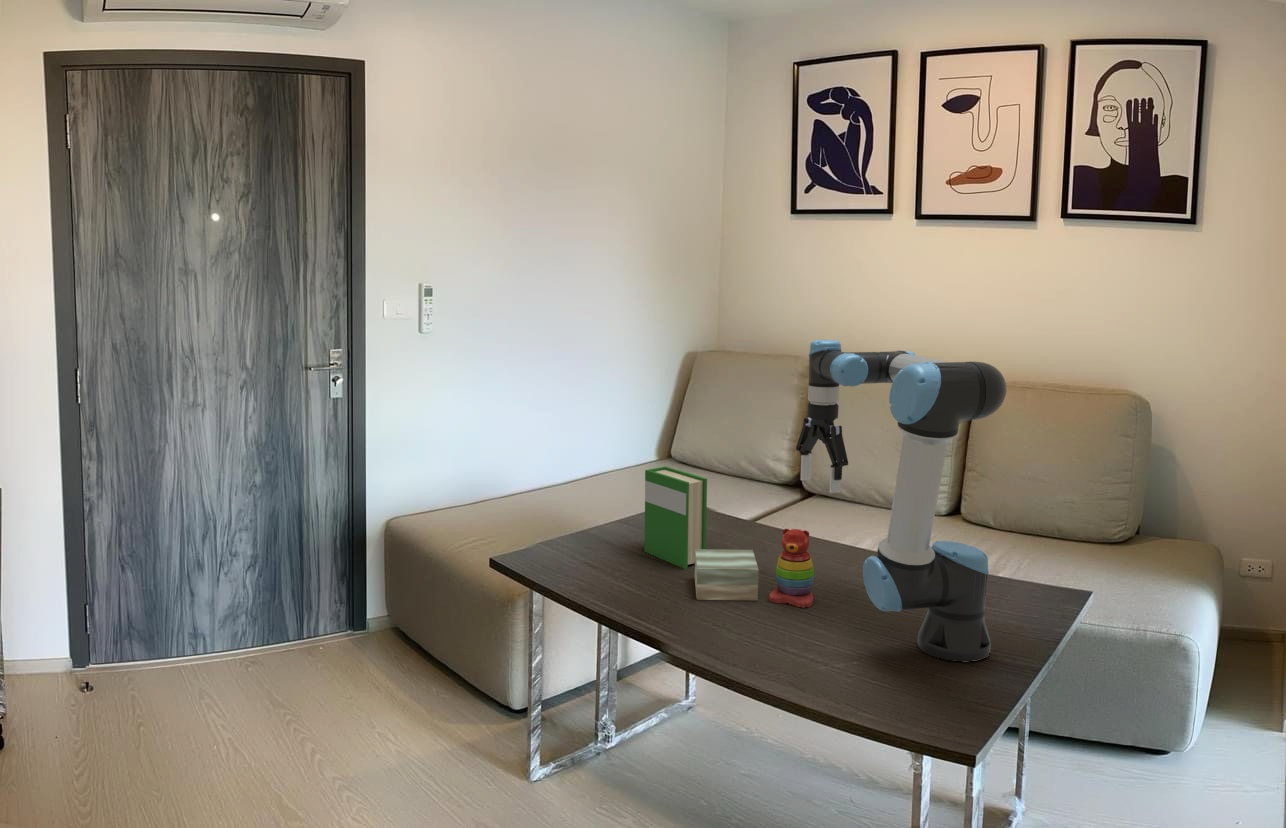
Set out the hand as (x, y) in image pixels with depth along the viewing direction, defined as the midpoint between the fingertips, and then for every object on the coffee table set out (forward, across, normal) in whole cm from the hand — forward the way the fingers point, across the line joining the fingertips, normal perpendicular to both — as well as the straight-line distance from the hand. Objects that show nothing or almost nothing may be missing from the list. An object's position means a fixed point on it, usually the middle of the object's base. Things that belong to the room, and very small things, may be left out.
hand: (820, 486), depth 237 cm
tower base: (+27, +7, +22) cm, 36 cm away
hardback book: (+27, +34, +25) cm, 50 cm away
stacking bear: (+27, -4, +9) cm, 29 cm away
